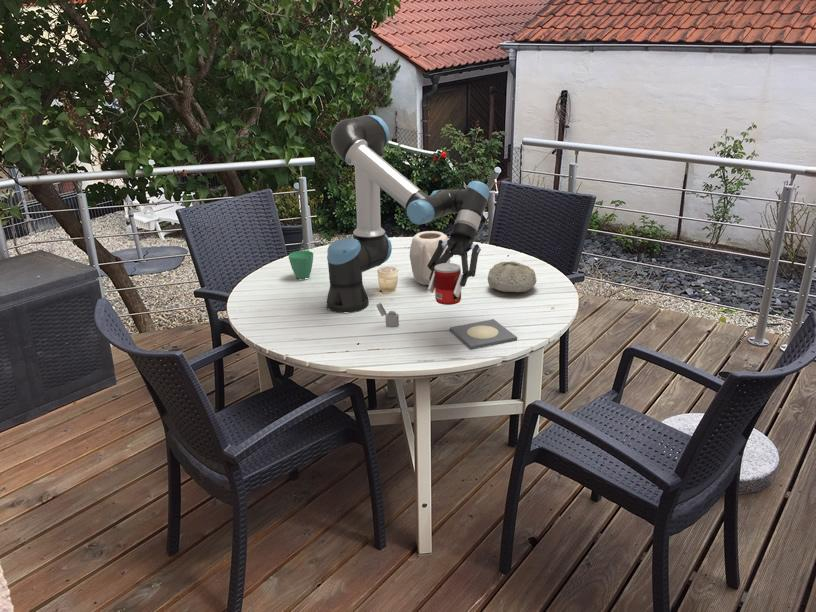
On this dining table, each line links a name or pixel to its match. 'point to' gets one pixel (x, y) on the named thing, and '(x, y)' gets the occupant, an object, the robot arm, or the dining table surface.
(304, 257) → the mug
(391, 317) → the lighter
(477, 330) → the mat
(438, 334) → the dining table surface
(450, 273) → the canned food
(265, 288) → the dining table surface
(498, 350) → the dining table surface
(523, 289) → the grey rounded rock
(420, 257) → the cream ceramic pot
